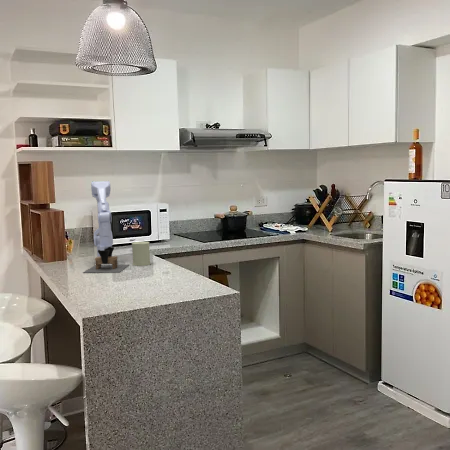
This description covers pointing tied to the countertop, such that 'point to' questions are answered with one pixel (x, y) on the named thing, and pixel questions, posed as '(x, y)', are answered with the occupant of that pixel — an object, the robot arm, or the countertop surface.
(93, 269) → the mat
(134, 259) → the can
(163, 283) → the countertop surface
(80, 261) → the countertop surface
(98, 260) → the stool
